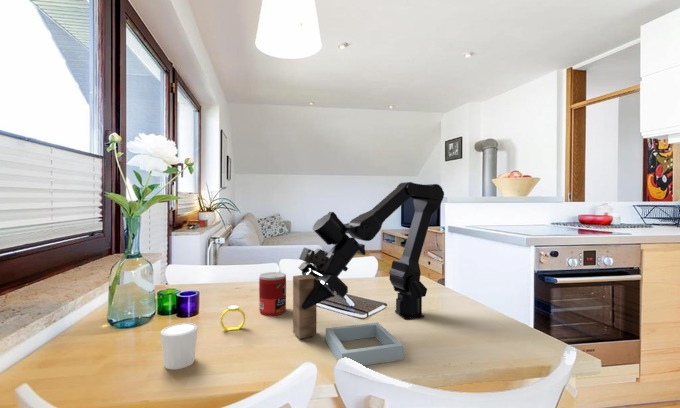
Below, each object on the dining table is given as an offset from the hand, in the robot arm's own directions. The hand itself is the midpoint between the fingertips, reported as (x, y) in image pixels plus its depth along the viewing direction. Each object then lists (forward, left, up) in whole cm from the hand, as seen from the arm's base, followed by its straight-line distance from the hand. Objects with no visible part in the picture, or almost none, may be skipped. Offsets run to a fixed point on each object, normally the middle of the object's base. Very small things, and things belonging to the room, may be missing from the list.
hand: (299, 305), depth 80 cm
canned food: (+5, -20, -8) cm, 22 cm away
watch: (+16, -9, -8) cm, 20 cm away
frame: (-12, +11, -8) cm, 18 cm away
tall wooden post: (-1, 0, -7) cm, 7 cm away
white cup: (+26, +6, -8) cm, 27 cm away
